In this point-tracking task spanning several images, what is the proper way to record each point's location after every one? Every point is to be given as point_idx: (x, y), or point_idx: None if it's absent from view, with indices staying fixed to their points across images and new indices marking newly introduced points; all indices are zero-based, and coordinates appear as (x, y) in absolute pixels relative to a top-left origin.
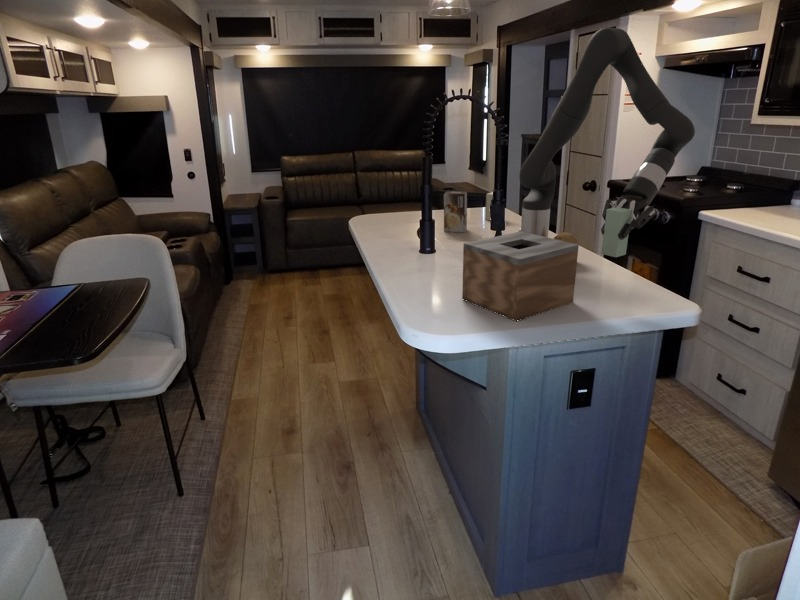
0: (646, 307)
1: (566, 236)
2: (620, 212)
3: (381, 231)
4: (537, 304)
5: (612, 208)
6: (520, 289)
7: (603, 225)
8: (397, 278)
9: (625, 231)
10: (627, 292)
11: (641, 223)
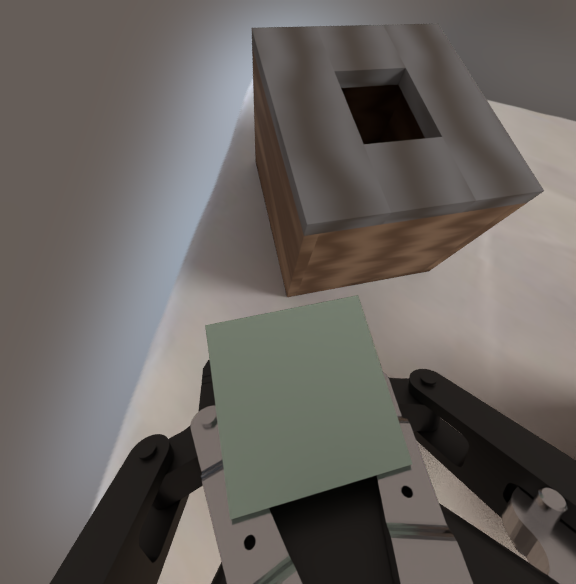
0: (179, 427)
1: None
2: (220, 322)
3: None
4: (265, 188)
5: (367, 365)
6: (255, 112)
7: None
8: (509, 123)
9: (206, 377)
10: None
11: (151, 516)
